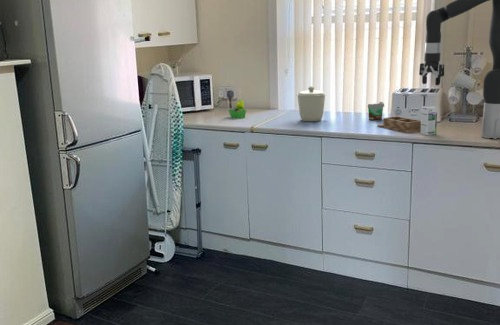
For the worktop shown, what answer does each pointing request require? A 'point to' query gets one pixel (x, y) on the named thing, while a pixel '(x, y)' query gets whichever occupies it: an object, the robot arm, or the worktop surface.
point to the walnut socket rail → (401, 124)
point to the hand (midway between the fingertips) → (430, 84)
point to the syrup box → (428, 120)
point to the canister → (311, 104)
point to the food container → (375, 111)
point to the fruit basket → (238, 110)
